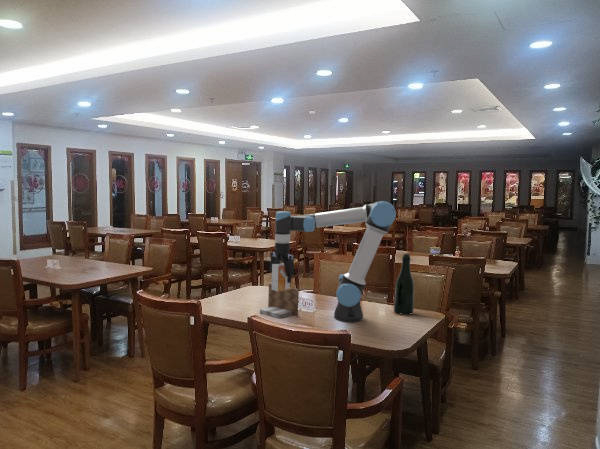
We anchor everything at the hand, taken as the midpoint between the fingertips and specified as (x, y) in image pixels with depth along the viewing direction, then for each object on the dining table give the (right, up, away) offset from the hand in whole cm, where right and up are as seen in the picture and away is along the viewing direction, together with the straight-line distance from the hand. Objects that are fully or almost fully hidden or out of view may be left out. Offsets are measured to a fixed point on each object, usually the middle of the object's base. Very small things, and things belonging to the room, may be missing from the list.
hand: (281, 287), depth 237 cm
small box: (0, -1, 0) cm, 1 cm away
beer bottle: (+67, -17, +24) cm, 73 cm away
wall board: (-3, -16, +14) cm, 22 cm away
